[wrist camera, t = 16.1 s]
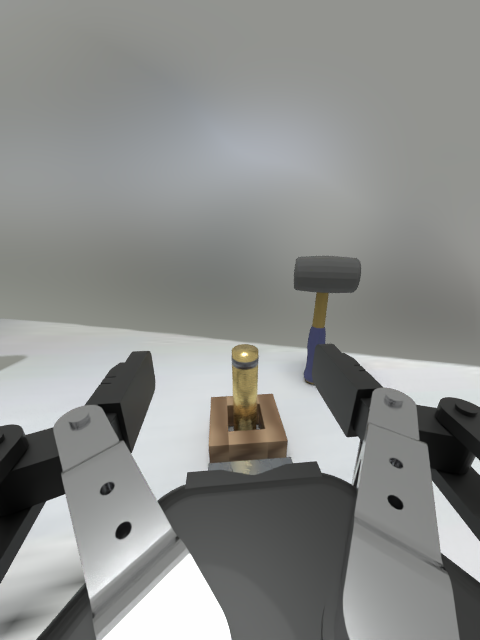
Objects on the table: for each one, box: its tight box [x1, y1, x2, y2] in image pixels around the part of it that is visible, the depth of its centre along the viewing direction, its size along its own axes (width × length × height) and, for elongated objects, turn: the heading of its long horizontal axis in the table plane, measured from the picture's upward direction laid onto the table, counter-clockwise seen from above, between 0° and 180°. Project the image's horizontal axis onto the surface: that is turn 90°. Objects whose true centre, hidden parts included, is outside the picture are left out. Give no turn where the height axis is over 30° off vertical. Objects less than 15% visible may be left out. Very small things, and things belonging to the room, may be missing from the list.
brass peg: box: [232, 344, 258, 431], centre depth 40 cm, size 4×4×18 cm
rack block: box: [209, 394, 288, 463], centre depth 42 cm, size 12×11×5 cm
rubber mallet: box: [294, 256, 361, 384], centre depth 53 cm, size 12×8×30 cm, turn 79°
